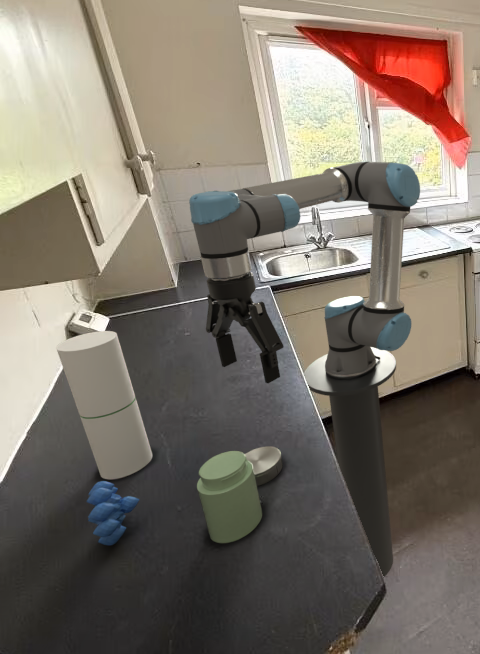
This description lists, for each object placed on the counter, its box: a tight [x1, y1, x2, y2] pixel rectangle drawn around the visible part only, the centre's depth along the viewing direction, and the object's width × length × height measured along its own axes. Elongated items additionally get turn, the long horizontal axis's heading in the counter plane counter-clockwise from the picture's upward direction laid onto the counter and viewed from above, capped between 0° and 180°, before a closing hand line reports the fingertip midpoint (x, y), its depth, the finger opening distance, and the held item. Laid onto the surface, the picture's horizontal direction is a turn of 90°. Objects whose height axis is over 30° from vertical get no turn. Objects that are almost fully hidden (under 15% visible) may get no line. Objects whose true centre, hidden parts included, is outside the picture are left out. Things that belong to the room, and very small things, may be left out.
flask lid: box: [244, 446, 284, 487], centre depth 90 cm, size 8×8×3 cm
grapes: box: [85, 480, 141, 546], centre depth 74 cm, size 12×7×12 cm, turn 42°
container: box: [55, 330, 153, 480], centre depth 87 cm, size 9×9×30 cm
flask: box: [196, 450, 263, 544], centre depth 77 cm, size 8×8×14 cm
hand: (250, 371), depth 87 cm, fingers open, 13 cm apart
